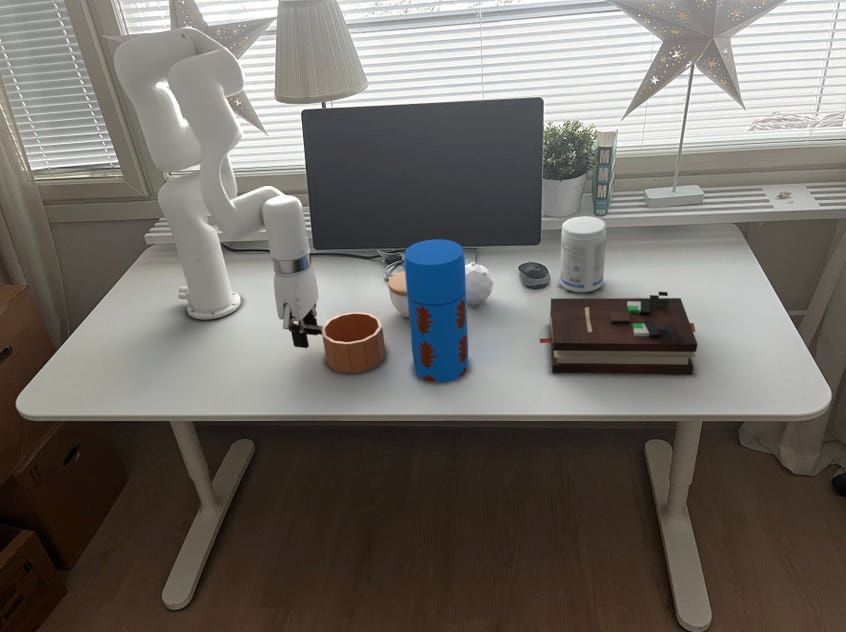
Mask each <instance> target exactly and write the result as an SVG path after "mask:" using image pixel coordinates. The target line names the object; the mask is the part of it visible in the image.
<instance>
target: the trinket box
mask: <svg viewBox="0 0 846 632" xmlns="http://www.w3.org/2000/svg"><path fill="white" fill-rule="evenodd" d="M387 287H388V292H389V297H390V300H391V303H392V305H393V307H394V308H395V310H396V311H398V312H399V313H400V314H401V315H402V316H403V317H405V318H408V319H409V311H408V300H407V289H406V278H405V270H402V271H400V272H396V273H395V274H393V275H392V276H391V277H390V278H389V279H388V281H387Z"/></svg>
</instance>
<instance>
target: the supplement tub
mask: <svg viewBox="0 0 846 632" xmlns="http://www.w3.org/2000/svg"><path fill="white" fill-rule="evenodd" d="M560 241H561V242H560V275H559V276H560V284H561V286H562V287H563V288H564V289H566V290H567V291H570V292H573V293H574V292H575V293H590V292H593V291H595V290H598V289H599V288H601V286H602V285H603V284H604V274H605V273H604V272H605V258H606V242H607V224H606V222H605V221H604V220H602V219H600V218H599V217H595V216H576V217H572V218H569V219H567V220H565V221H563V223H562V228H561V240H560Z"/></svg>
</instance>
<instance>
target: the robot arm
mask: <svg viewBox="0 0 846 632" xmlns="http://www.w3.org/2000/svg"><path fill="white" fill-rule="evenodd" d="M113 66H114V70H115V74H116V76H117V79H118V81H119V84H120V86H121V87H122V90H123V91H124V92H125V94H126V96H127V97H128V99H129V100H130V102H131V104H132V106H133V108H134V111H135V113H136V116H137V119H138V122H139V125H140V128H141V132H142V134H143V137H144V141H145V143H146V146H147V150H148V153H149V155H150V157H151V160H152V162H153V164H154V165H155V168H157V169H158V171H160V172H162V173H165V174H172V173H177V172H180V171H183V170H186V169H189V168H191V167H195V166H197V165H199V169H198V170H194V171H192V172H188V173H186V174H182V175H180V176H177V177H175V178H172V179H170V180H168V181H166V182H165V183H164V184H163V185H162V186H160V188H159V189H158V192H157V203H158V205H159V208H160V210H161V212H162V214H163V216H164V218H165V220H166V222H167V225H168V228H169V231H170V232H171V235H172V238H173V241H174V244H175V248H176V252H177V255H178V258H179V261H180V266H181V269H182V273H183V276H184V280H185V284H186V286H183V285H182V286H180V287H179V289H178V294H177V297H178V299H180V300H181V299H182V300H186V301H187V305H186V312H187V314H188V316H189V317H191V318H193V319H197V320H204V321H205V320H214V319H219V318H223V317H225V316H228V315H229V314H232V313H233V312H235V311H236V310H237V309H238V308H239V307H240V306H241V303H242V300H241V295H239V293H237V292H235V291H233V290H232V286H231V282H230V278H229V274H228V271H227V267H226V263H225V258H224V255H223V251H222V246H221V242H220V238H219V235H218V233H217V231H216V230H215V228H214V227H213V226H211V225H210V224H209V223H208V222H206V221H205V220H204V218H205V217H208V216H209V215H210V216H211V218H212V220H213V222H214V223H215V225H216V226H217V228H218V229H219V231H220V232H221V234H223V235H224V237H226V238H227V239H229V240H232V241H241V240H244V239H246V238H249V237H251V236H253V235H255V234H258V233H260V232H262V231H265V234H266V239H267V243H268V248H269V254H270V258H271V259H270V260H271V263H272V267H273V268H272V269H273V272H274V275H273V289H274V290H273V291H274V299H275V305H276V306H275V307H276V312H277V317H278V319H279V320H283V321H282V329H283V330H288V331H289V332H290V333H291V338H292V342H293V344H292V345H293V346H294V347H295V348H302V349H308V348H309V338H308V336H318V335H319V334H311V333H306V330H304V324H308V325H317V326H319V325H318V320H317V316H318V313H317V310H316V309H317V303H318V300H319V289H318V284H317V277H316V274H315V271H314V267H313V262H312V261H313V259H312V255H311V249H310V243H309V238H308V231H307V225H306V221H305V220H306V219H305V214H304V209H303V208H304V207H303V205H302V202H301V201H300V199H299V198H298V197H295V196H293V195H286V194H284V193H283V192H282V191H280V190H279V189H277V188H275V187H273V186H270V185H269V186H268V185H267V186H262V187H259V188H256V189H253V190H251V191H249V192H246V193H244V194H241V195H239V196H238V185H237V180H236V176H235V174H234V169H233V166H232V163H231V162H232V161H231V158H230V154H229V153H230V151H232V150H233V149H234V148H235V147H236V146H237V144H239V142H240V141H241V140H242V138H243V136H244V132H243V129H242V126H241V125H240V122H239V121H238V118H237V117H236V115H235V113H234V111H233V109H232V107H231V106H230V104H229V101H228V99H227V98H230V97H232V96H235V95H238V94H240V93H241V92H242V91H243V90H244V88H245V84H246V83H245V81H246V80H245V73H244V70H243V68H242V65H241V64H240V62H239V61H238V59H237V58H236V57H235V55H234V54H233V53H232V52H231V51H230V50H229V49H228V48H227V47H225V46H223V44H221V43H219V42H218V41H216V40H214V39H213V38H211V37H210V36H208V35H207V34H205V33H204V32H202V31H201V30H199V29H197V28H194V27H189V26H188V27H187V26H183V27H178V28H177V27H176V28H172V29H169V30H164V31H159V32H154V33H149V34H145V35H141V36H136V37H134V38H131V39H128V40H126V41H124V42H122V43H121V44H119V45H118V46H117V48H116V49H115V51H114V56H113ZM165 81H167V84H168V88H167V86H165V84H163V83H162V82H165ZM183 116H184V117H183ZM295 322H297V323H298V325H299V326H298V325H296V324H294V323H295Z"/></svg>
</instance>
